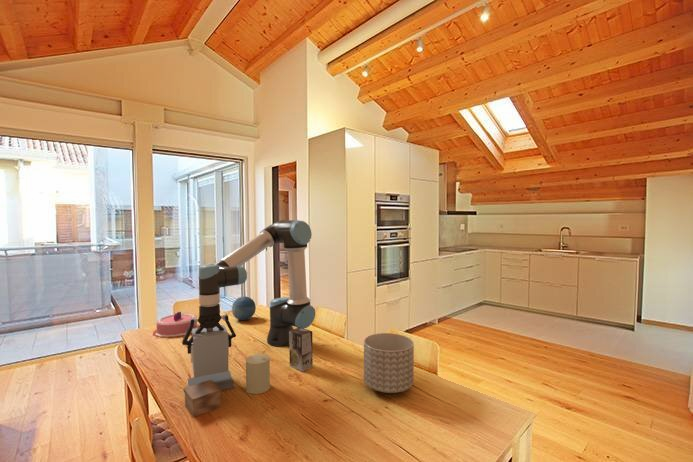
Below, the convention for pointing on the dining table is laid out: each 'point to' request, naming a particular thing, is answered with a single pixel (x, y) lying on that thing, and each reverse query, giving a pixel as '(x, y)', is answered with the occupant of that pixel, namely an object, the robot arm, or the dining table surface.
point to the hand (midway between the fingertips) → (210, 358)
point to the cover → (210, 351)
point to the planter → (388, 362)
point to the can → (257, 373)
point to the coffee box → (300, 349)
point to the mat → (215, 380)
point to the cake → (174, 325)
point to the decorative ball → (243, 308)
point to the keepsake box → (202, 397)
